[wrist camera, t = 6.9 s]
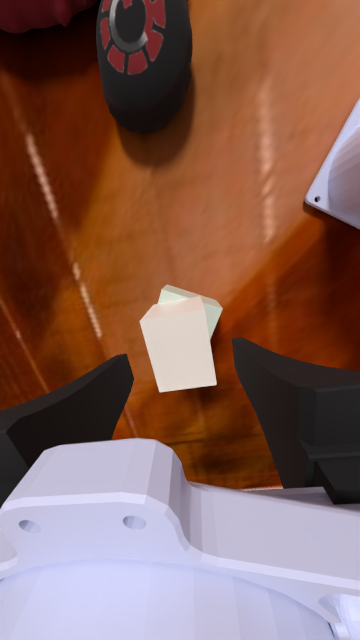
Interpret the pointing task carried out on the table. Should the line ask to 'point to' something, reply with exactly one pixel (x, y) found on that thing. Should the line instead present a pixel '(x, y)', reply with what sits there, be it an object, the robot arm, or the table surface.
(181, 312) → the cream brick
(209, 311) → the sage base brick
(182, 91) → the toy motorcycle
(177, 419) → the table surface
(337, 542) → the robot arm
